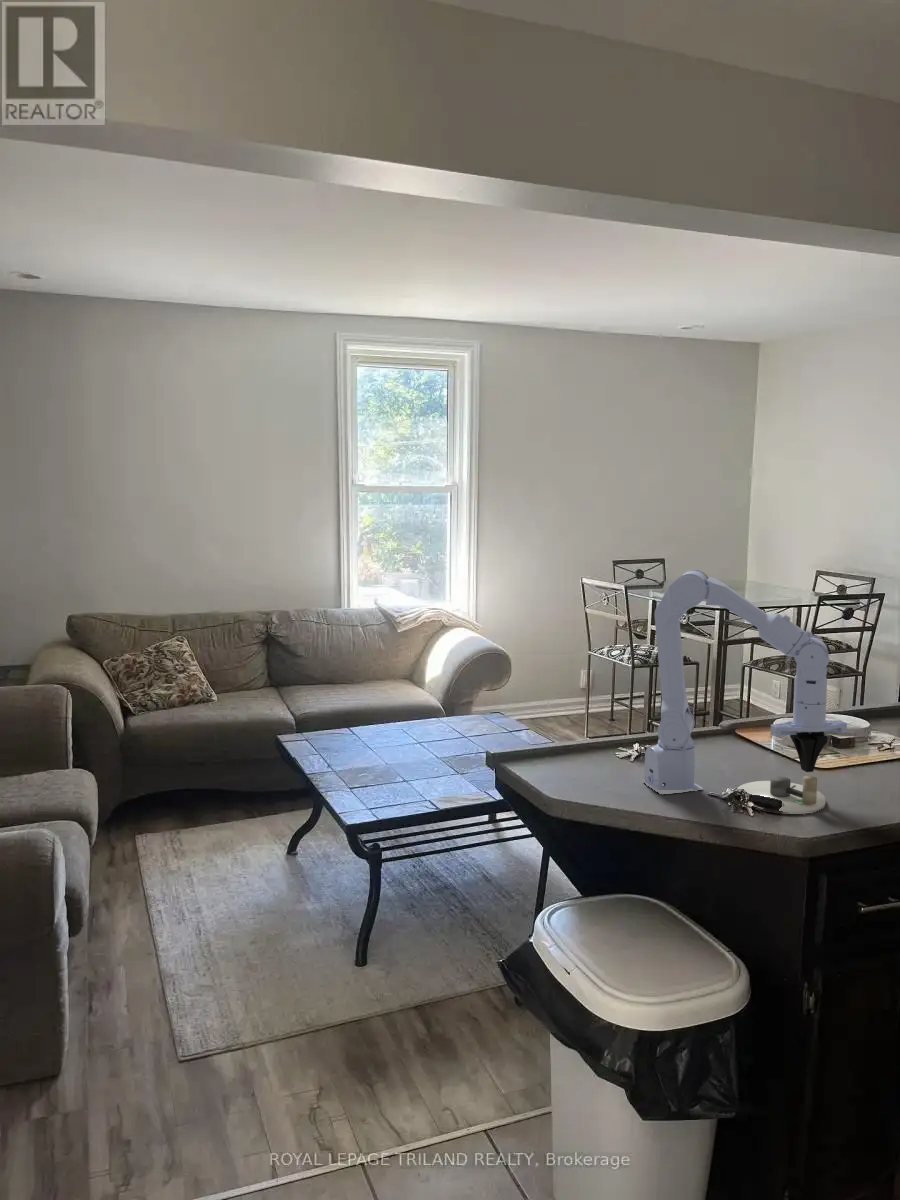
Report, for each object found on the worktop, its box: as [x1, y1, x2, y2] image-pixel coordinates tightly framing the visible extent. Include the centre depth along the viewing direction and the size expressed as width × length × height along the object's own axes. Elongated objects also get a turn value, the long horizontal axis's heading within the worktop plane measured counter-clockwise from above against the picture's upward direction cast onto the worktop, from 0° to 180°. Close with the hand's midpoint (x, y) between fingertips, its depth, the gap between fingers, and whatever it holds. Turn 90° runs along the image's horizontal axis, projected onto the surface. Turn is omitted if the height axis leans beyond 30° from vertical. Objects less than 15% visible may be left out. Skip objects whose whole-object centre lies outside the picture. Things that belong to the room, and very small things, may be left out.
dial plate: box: [736, 780, 826, 813], centre depth 166 cm, size 16×16×1 cm
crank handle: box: [769, 775, 818, 804], centre depth 163 cm, size 10×4×5 cm, turn 31°
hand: (807, 770), depth 165 cm, fingers closed
